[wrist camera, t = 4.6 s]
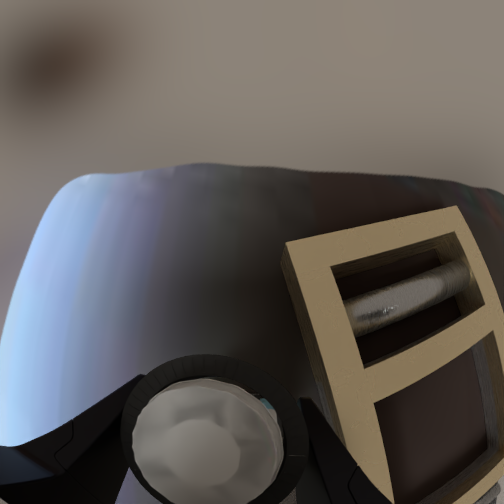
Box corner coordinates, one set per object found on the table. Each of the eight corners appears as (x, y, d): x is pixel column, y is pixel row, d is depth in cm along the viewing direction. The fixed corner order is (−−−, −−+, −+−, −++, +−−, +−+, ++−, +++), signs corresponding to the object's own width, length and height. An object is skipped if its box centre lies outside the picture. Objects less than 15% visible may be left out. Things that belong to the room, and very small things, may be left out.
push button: (175, 451, 13) (79, 505, 4) (170, 370, 15) (66, 343, 6) (287, 450, 13) (318, 530, 4) (281, 366, 15) (306, 342, 6)
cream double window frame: (366, 591, 5) (377, 607, 3) (280, 263, 18) (285, 242, 16) (497, 505, 7) (516, 509, 4) (438, 224, 20) (456, 205, 17)
